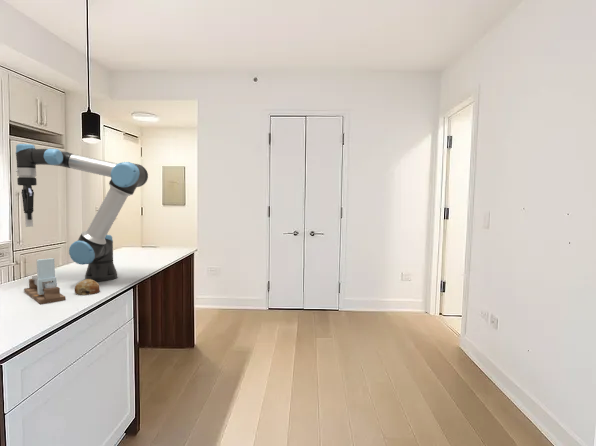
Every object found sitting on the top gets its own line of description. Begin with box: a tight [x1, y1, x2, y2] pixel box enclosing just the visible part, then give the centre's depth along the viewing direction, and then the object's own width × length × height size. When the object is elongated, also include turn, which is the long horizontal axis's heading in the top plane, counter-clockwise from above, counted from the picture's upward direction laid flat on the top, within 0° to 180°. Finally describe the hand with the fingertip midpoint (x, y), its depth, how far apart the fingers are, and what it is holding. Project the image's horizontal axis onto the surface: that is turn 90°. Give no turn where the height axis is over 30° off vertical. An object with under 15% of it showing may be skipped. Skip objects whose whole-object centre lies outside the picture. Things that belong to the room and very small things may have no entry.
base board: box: [23, 278, 66, 305], centre depth 172 cm, size 28×9×6 cm, turn 46°
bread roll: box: [74, 279, 101, 296], centre depth 178 cm, size 10×10×8 cm
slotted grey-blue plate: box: [36, 257, 58, 295], centre depth 167 cm, size 3×6×14 cm, turn 136°
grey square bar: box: [31, 275, 56, 290], centre depth 171 cm, size 25×3×3 cm, turn 46°
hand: (29, 226), depth 190 cm, fingers closed
